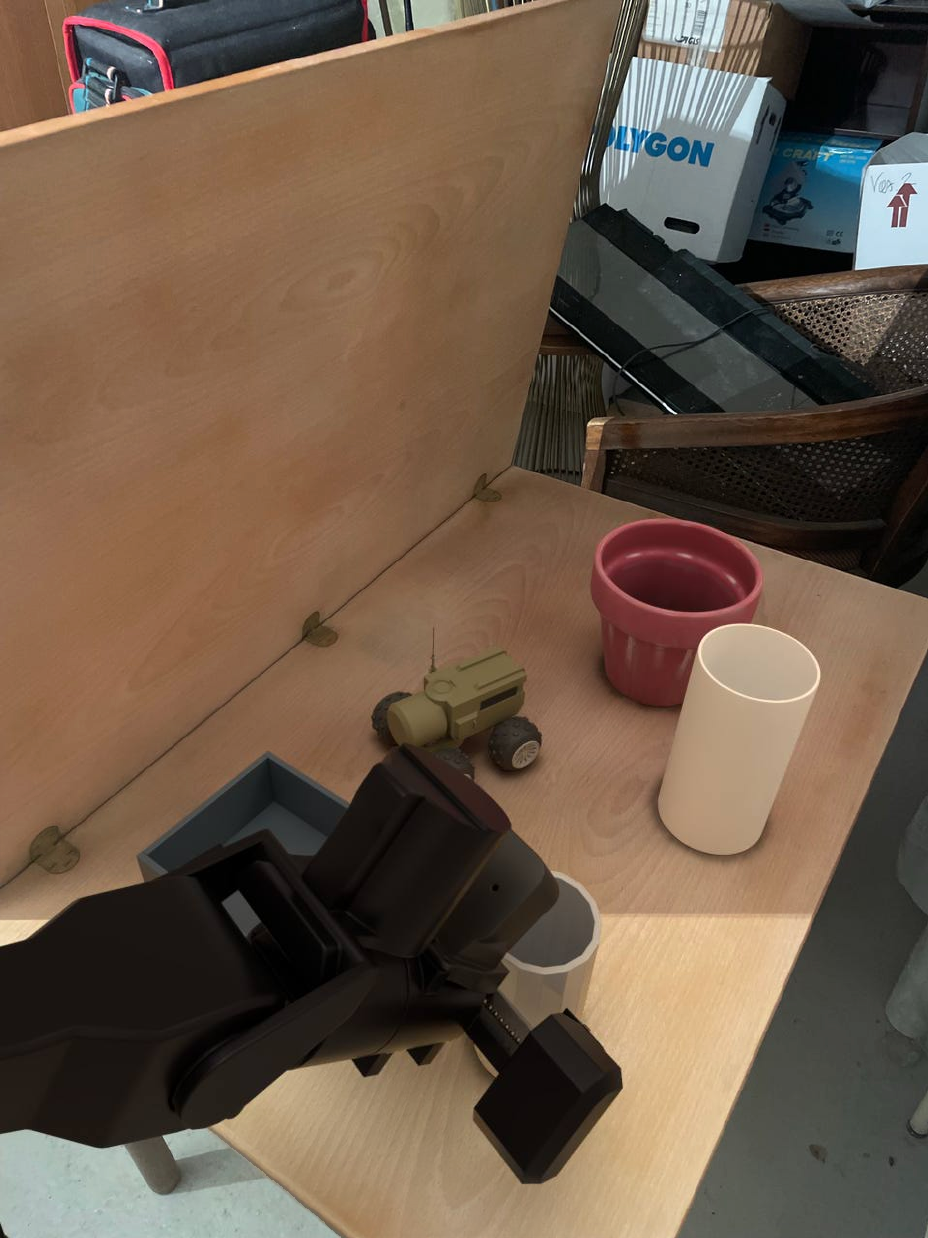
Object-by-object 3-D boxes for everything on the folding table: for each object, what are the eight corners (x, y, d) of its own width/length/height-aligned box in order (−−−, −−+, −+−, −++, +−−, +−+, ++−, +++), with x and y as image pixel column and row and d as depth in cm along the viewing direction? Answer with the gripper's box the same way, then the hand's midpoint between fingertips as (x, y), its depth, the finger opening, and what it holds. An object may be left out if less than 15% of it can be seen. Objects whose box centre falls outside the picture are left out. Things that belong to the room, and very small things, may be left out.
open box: (273, 1004, 58) (264, 956, 54) (151, 905, 63) (135, 856, 60) (392, 878, 66) (391, 829, 62) (274, 799, 71) (267, 750, 67)
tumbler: (539, 1110, 53) (562, 997, 45) (452, 1046, 56) (459, 928, 48) (592, 1026, 57) (622, 908, 49) (509, 970, 60) (524, 849, 52)
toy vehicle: (545, 762, 75) (560, 653, 67) (432, 819, 70) (434, 708, 62) (474, 688, 81) (480, 582, 74) (366, 735, 76) (361, 626, 69)
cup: (723, 874, 67) (778, 721, 57) (636, 808, 71) (673, 656, 61) (783, 816, 71) (844, 665, 61) (698, 757, 76) (741, 608, 66)
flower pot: (663, 753, 76) (693, 637, 68) (546, 667, 84) (560, 554, 76) (761, 681, 84) (798, 569, 76) (644, 608, 92) (667, 500, 84)
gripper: (624, 1001, 32) (744, 982, 45) (339, 710, 43) (498, 760, 56) (449, 1236, 33) (614, 1153, 46) (213, 893, 44) (398, 902, 57)
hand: (525, 972), depth 51 cm, fingers open, 9 cm apart
